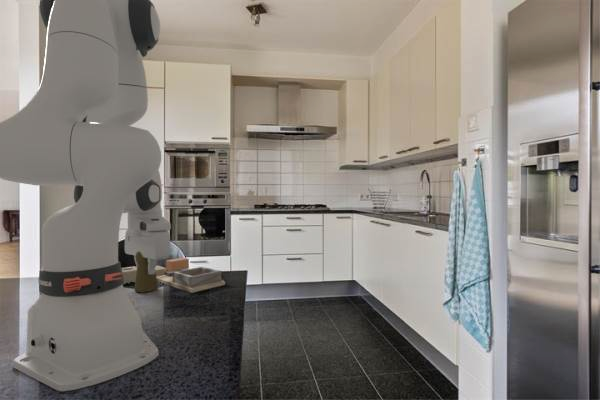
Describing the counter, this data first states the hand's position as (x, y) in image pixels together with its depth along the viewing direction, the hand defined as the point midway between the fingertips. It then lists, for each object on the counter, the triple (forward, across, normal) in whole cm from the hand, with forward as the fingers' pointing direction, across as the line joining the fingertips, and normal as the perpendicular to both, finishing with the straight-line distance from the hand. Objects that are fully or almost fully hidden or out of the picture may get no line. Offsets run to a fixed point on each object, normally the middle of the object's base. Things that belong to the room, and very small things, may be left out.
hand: (145, 272), depth 95 cm
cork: (+5, 0, 0) cm, 5 cm away
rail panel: (+5, +1, +12) cm, 13 cm away
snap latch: (+1, -5, +12) cm, 13 cm away
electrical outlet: (+5, -16, +3) cm, 17 cm away
